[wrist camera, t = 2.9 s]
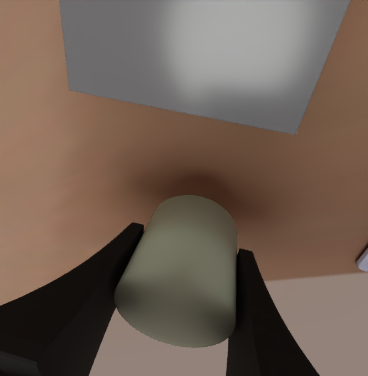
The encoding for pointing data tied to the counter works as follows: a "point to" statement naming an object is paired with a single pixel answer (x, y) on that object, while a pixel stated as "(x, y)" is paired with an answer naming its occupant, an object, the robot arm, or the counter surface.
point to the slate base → (203, 55)
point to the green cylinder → (183, 275)
